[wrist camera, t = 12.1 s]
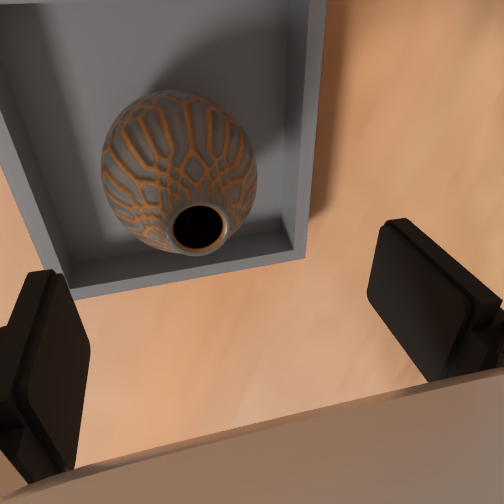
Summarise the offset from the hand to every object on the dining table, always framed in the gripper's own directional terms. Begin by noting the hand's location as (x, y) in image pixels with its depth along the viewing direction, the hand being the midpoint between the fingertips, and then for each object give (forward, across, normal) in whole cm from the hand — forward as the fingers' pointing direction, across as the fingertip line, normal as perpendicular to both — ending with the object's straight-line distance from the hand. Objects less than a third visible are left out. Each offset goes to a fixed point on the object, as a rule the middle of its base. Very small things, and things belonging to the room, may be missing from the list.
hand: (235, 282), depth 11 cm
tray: (+12, +1, 0) cm, 12 cm away
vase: (+12, +1, 0) cm, 12 cm away
